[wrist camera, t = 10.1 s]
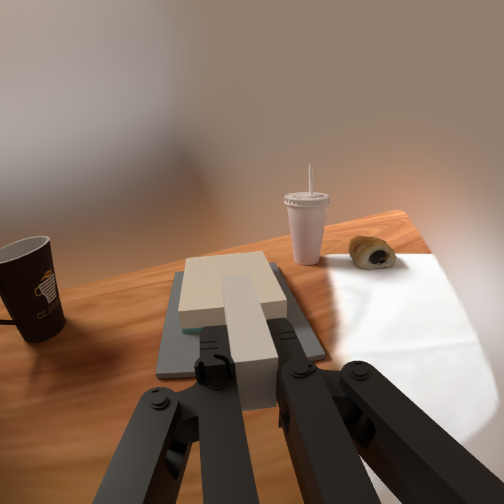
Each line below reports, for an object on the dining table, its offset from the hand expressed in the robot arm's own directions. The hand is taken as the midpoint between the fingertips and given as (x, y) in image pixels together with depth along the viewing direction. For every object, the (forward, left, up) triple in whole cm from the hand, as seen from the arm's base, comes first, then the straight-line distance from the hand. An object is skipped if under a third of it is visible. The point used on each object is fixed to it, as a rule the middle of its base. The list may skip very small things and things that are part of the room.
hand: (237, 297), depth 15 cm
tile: (0, +9, -7) cm, 12 cm away
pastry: (+22, +23, -10) cm, 33 cm away
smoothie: (+12, +25, -9) cm, 29 cm away
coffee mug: (-24, +11, -9) cm, 28 cm away
